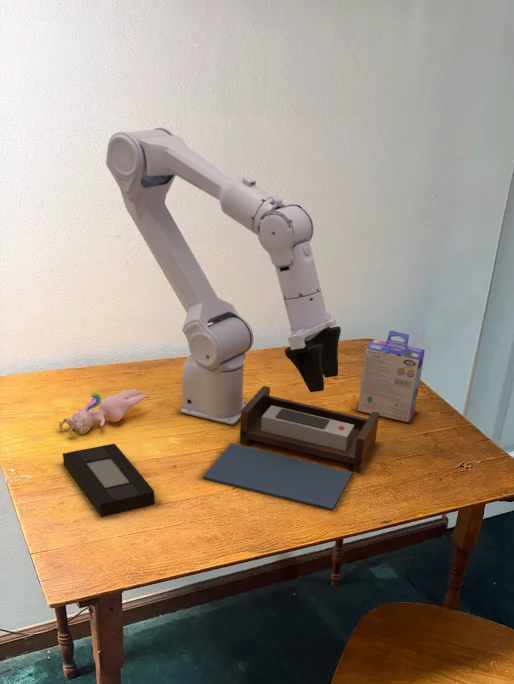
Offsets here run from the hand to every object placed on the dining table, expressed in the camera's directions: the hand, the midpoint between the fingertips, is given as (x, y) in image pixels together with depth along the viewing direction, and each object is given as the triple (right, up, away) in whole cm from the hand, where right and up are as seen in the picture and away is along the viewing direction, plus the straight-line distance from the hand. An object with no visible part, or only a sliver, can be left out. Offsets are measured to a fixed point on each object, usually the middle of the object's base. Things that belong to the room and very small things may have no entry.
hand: (324, 383), depth 122 cm
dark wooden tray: (-3, -9, +7) cm, 12 cm away
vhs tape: (-30, -16, -10) cm, 35 cm away
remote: (-3, -7, +5) cm, 9 cm away
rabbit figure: (-35, -6, +3) cm, 36 cm away
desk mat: (-7, -15, -2) cm, 16 cm away
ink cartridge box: (+9, -1, +21) cm, 23 cm away
